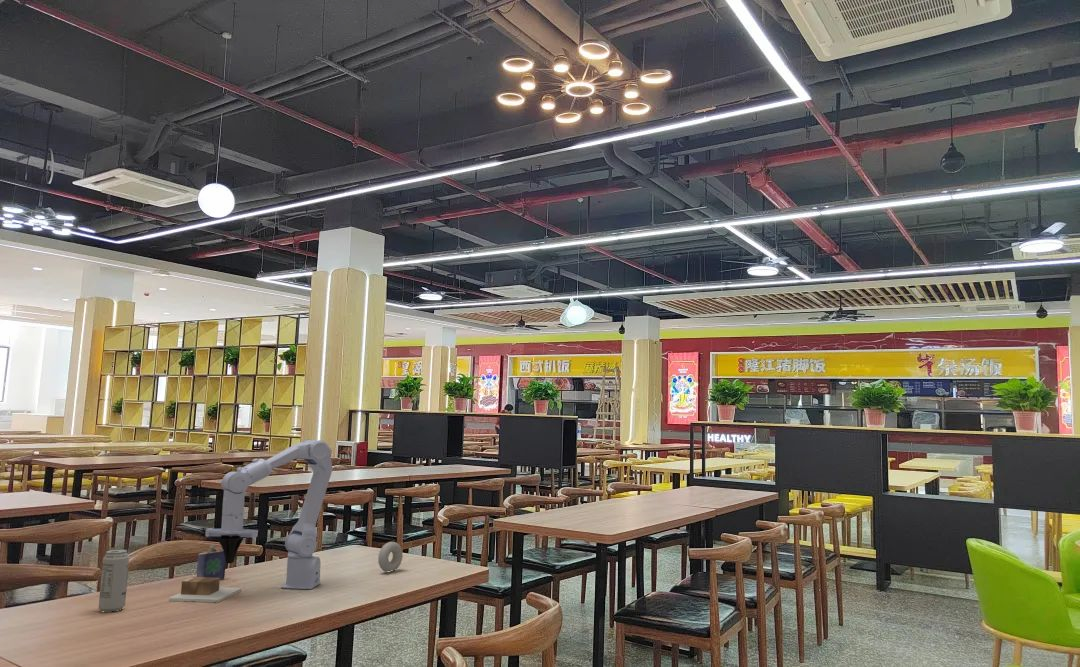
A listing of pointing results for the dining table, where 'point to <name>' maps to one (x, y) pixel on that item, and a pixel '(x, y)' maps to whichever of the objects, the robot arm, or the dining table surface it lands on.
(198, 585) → the walnut block
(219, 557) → the flask
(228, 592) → the stone board
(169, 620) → the dining table surface
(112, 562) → the energy drink can
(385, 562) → the donut
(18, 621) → the dining table surface
